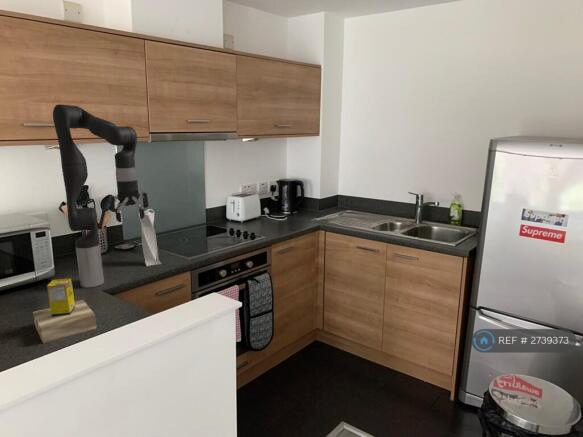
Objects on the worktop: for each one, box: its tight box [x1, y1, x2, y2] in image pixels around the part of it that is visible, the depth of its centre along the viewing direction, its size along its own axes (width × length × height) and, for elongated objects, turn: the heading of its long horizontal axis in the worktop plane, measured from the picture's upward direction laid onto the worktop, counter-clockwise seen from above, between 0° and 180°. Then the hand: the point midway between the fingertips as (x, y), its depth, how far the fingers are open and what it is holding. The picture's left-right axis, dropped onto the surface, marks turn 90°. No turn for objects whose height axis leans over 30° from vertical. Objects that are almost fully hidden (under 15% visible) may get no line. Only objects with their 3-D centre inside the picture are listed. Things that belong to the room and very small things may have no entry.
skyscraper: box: [138, 208, 162, 267], centre depth 210 cm, size 8×8×28 cm
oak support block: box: [32, 299, 98, 344], centre depth 148 cm, size 16×16×5 cm
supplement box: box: [46, 278, 76, 316], centre depth 147 cm, size 6×6×11 cm
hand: (130, 220), depth 171 cm, fingers open, 8 cm apart
